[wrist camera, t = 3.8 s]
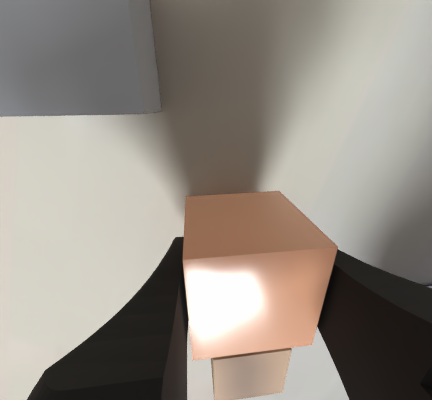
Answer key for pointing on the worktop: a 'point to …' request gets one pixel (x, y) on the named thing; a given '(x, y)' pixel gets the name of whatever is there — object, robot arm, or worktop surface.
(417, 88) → the worktop surface
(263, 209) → the terracotta cube
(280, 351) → the walnut cube
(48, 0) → the slate cube
